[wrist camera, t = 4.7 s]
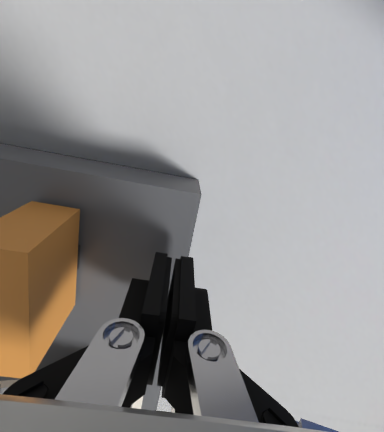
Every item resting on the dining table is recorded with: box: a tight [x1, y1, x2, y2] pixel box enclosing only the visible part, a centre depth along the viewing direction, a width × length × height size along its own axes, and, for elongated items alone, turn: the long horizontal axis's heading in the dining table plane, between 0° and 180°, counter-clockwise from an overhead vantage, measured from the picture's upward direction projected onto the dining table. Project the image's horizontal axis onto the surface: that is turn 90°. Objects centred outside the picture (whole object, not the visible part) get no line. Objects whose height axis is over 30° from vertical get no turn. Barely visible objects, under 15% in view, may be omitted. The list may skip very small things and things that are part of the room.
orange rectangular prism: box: [0, 201, 80, 378], centre depth 10 cm, size 2×5×4 cm, turn 169°
